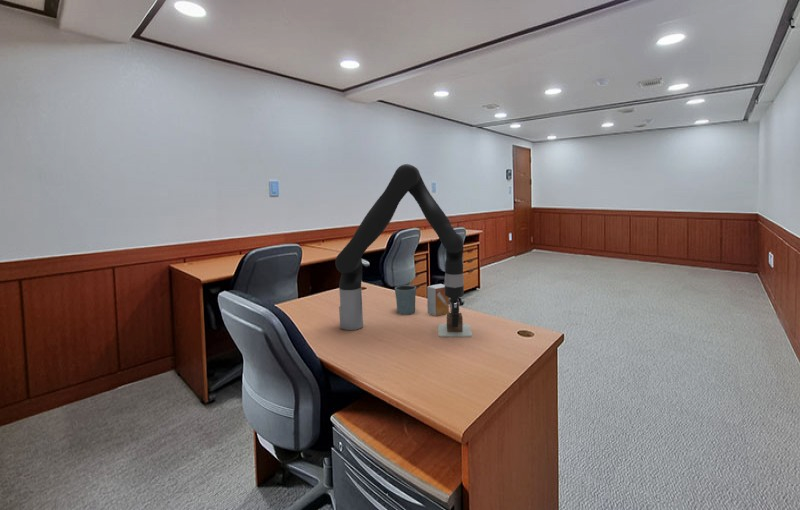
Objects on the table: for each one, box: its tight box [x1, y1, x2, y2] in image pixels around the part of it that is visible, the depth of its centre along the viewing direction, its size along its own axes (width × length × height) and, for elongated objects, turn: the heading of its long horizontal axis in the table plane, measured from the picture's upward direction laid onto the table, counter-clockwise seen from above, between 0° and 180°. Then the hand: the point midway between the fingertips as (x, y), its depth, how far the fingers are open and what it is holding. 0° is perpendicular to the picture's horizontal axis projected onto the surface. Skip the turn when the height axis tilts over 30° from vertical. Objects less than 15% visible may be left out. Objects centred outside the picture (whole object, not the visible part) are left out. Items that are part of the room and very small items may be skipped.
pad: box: [437, 323, 473, 338], centre depth 154 cm, size 13×13×1 cm
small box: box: [426, 283, 450, 317], centre depth 176 cm, size 8×6×13 cm
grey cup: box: [394, 284, 417, 316], centre depth 179 cm, size 10×10×12 cm
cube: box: [446, 312, 464, 332], centre depth 153 cm, size 6×6×6 cm
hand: (454, 323), depth 153 cm, fingers open, 8 cm apart
